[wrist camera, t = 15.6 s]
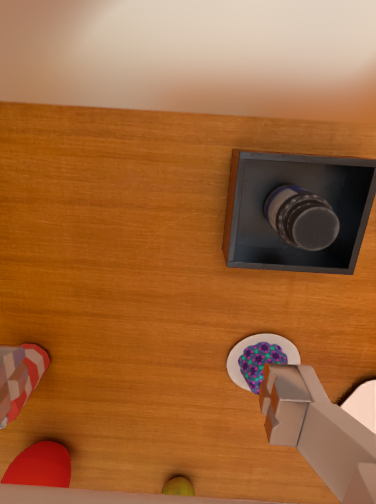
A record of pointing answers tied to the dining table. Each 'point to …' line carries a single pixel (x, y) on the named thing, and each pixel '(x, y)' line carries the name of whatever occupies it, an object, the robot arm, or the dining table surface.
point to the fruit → (178, 487)
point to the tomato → (40, 466)
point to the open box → (312, 179)
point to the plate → (363, 404)
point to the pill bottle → (301, 217)
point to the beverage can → (29, 378)
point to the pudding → (258, 358)
